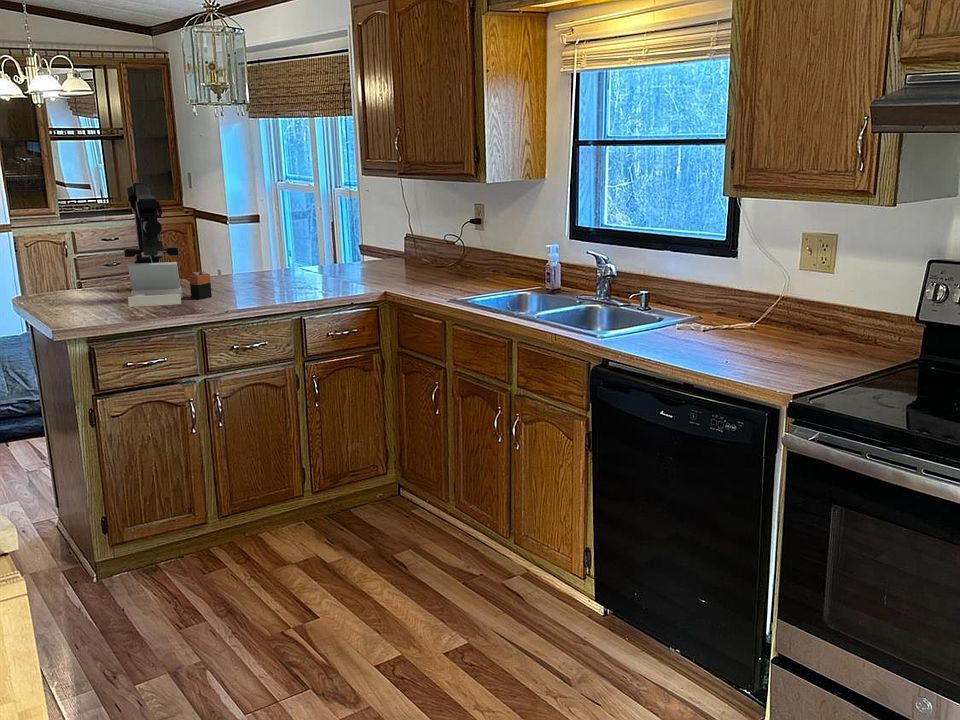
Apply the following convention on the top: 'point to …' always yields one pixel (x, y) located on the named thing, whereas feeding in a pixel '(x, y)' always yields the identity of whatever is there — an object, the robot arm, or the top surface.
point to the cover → (154, 276)
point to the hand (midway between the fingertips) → (154, 274)
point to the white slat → (155, 297)
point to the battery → (200, 285)
